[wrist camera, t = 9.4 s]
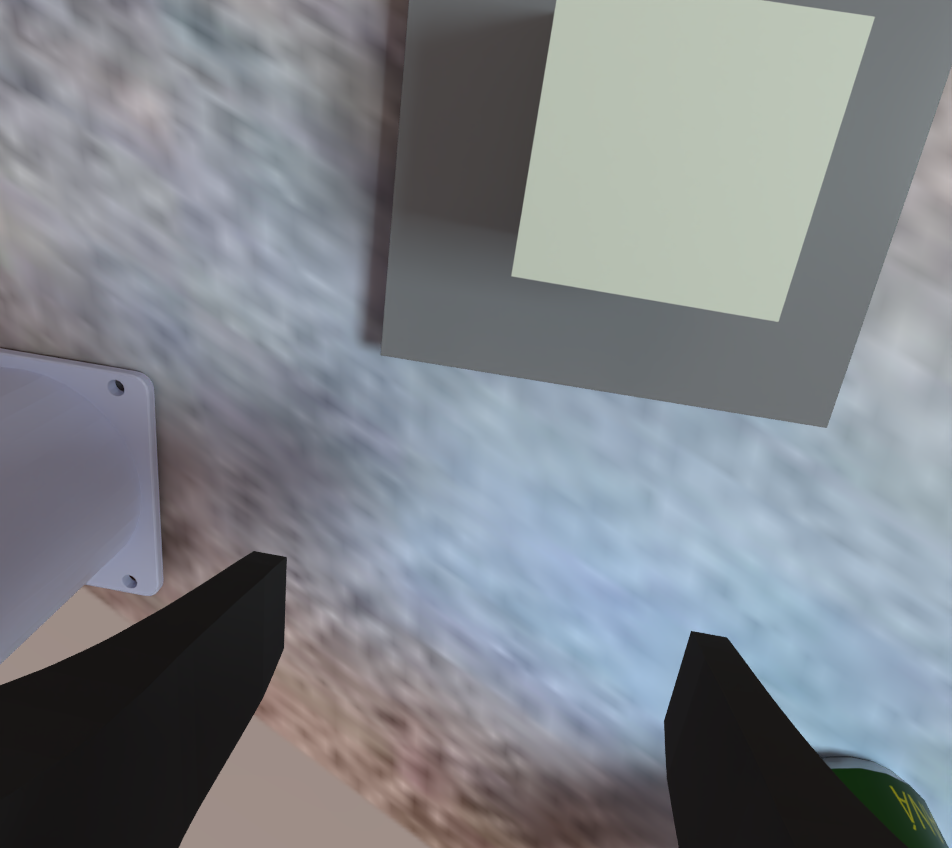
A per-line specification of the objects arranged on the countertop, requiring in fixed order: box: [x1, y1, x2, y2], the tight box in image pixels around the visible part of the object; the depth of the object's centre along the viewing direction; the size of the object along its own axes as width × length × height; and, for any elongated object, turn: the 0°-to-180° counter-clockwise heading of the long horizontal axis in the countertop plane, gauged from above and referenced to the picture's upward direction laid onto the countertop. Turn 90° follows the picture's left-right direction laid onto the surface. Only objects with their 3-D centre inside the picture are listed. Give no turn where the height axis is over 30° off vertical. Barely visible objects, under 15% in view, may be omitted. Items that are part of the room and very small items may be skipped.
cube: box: [511, 0, 875, 322], centre depth 15 cm, size 5×5×5 cm
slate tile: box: [381, 0, 952, 428], centre depth 18 cm, size 12×12×1 cm
